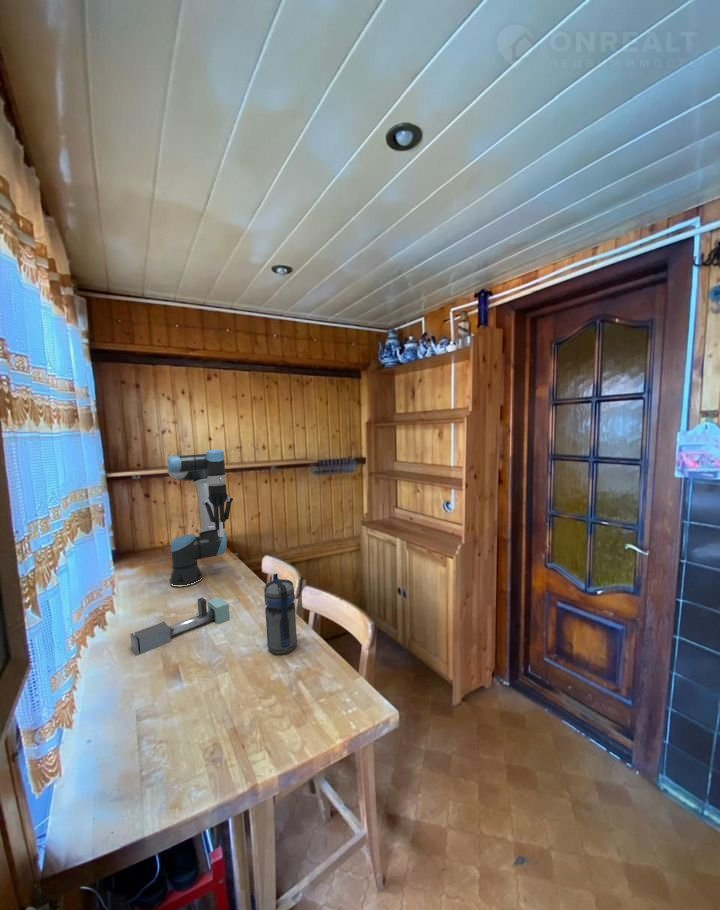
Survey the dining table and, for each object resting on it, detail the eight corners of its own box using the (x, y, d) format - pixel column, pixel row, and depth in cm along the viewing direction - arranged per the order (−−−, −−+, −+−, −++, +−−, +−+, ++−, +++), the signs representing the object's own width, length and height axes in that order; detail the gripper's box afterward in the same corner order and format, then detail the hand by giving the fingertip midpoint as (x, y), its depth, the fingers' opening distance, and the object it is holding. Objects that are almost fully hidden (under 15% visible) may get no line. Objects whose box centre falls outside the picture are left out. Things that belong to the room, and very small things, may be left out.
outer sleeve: (136, 655, 130) (135, 641, 130) (131, 647, 135) (130, 633, 134) (171, 641, 138) (169, 627, 137) (165, 634, 142) (164, 621, 142)
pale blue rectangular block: (217, 624, 149) (216, 608, 148) (208, 616, 155) (207, 601, 155) (229, 619, 152) (228, 603, 152) (220, 612, 159) (219, 596, 158)
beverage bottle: (273, 663, 123) (268, 589, 121) (264, 643, 134) (260, 575, 133) (302, 654, 127) (299, 582, 125) (292, 635, 139) (288, 569, 137)
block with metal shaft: (162, 641, 137) (160, 616, 136) (159, 637, 140) (157, 612, 139) (221, 618, 152) (219, 595, 152) (217, 615, 155) (215, 592, 154)
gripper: (205, 487, 159) (209, 541, 161) (234, 483, 168) (238, 534, 170) (199, 485, 165) (203, 538, 167) (227, 481, 174) (230, 531, 176)
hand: (220, 536), depth 168 cm, fingers closed
